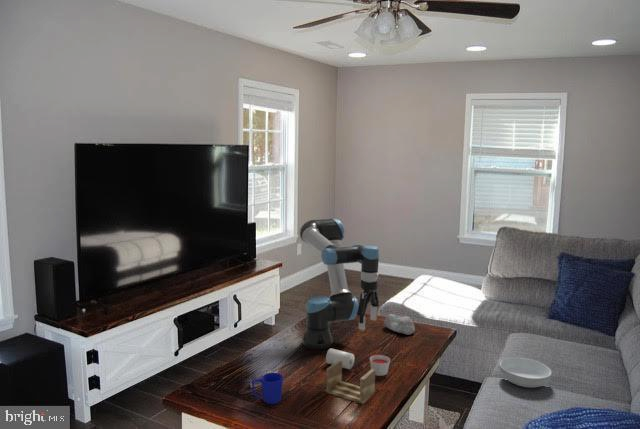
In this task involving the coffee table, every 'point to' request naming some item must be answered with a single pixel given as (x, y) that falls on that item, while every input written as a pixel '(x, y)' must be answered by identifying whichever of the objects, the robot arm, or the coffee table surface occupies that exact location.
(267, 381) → the mug
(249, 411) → the coffee table surface
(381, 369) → the candle
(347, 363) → the paper roll
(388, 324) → the decorative stone
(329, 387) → the oak roll cradle
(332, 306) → the robot arm
